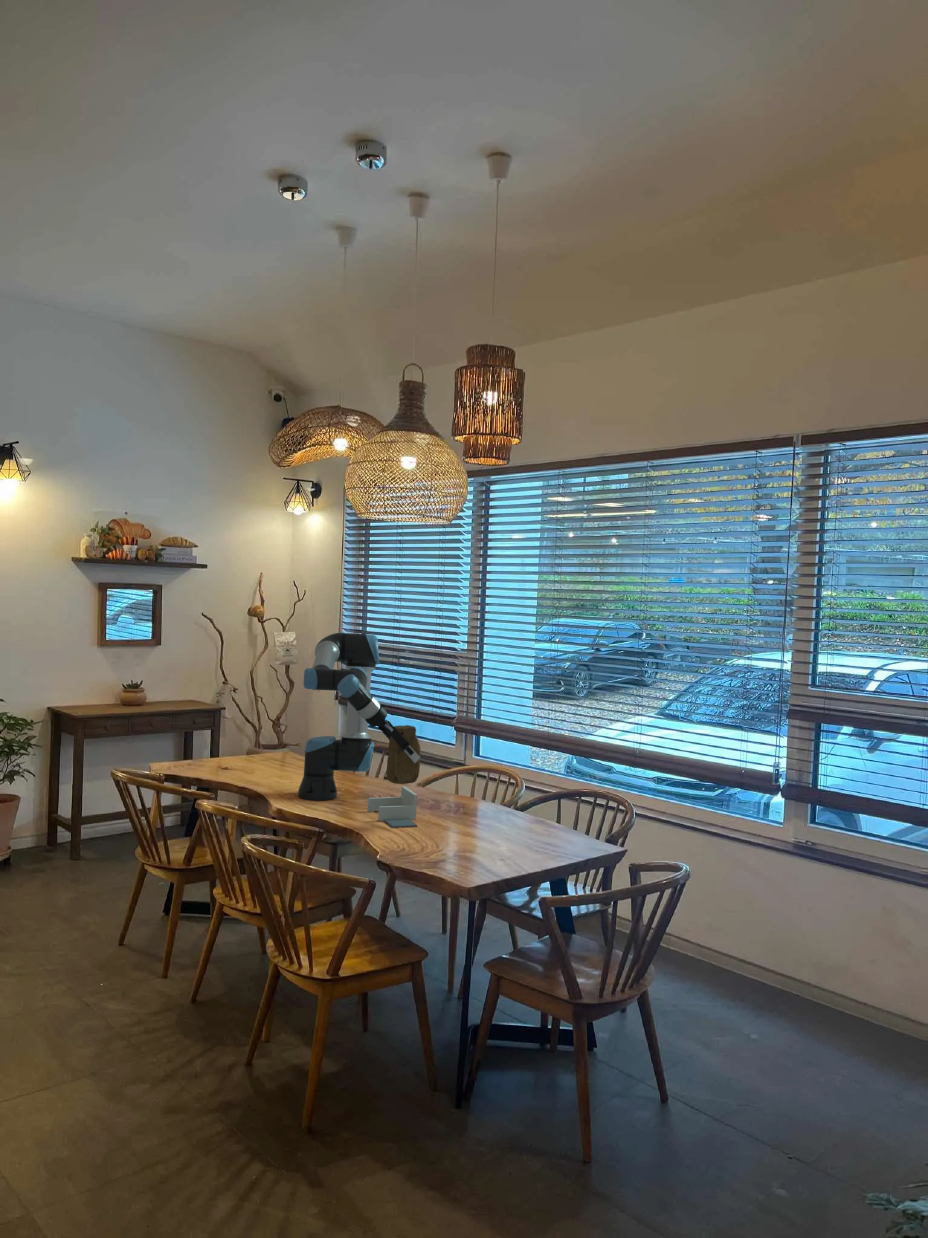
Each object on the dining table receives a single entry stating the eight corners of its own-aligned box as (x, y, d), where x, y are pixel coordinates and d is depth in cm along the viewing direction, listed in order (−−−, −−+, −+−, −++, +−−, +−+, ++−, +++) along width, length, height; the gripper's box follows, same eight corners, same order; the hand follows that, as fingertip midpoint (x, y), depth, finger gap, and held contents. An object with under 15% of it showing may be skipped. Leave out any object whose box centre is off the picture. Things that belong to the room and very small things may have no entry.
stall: (367, 811, 329) (369, 787, 329) (403, 810, 334) (404, 786, 334) (379, 821, 316) (380, 796, 316) (415, 819, 322) (417, 794, 321)
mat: (384, 821, 316) (384, 819, 316) (408, 820, 320) (408, 818, 320) (392, 828, 308) (392, 826, 308) (417, 826, 312) (417, 825, 312)
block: (393, 785, 307) (397, 727, 307) (384, 780, 314) (387, 724, 314) (421, 783, 313) (424, 727, 313) (411, 779, 319) (414, 724, 319)
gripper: (356, 715, 317) (396, 759, 323) (373, 724, 297) (415, 771, 304) (371, 700, 319) (411, 745, 325) (389, 708, 299) (431, 755, 306)
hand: (413, 757), depth 315 cm, fingers closed on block, 8 cm apart
